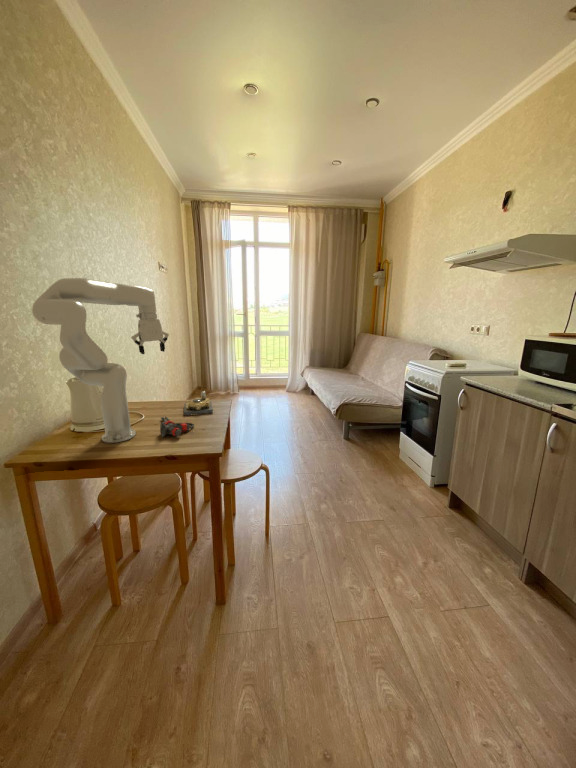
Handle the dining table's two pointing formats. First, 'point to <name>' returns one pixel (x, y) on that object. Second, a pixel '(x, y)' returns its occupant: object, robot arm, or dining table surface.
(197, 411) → the base plate
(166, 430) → the grey red jointed piece
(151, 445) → the dining table surface
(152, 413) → the dining table surface
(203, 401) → the beige lumpy block
